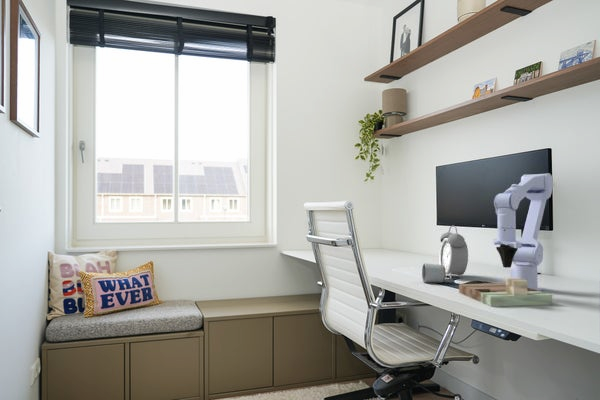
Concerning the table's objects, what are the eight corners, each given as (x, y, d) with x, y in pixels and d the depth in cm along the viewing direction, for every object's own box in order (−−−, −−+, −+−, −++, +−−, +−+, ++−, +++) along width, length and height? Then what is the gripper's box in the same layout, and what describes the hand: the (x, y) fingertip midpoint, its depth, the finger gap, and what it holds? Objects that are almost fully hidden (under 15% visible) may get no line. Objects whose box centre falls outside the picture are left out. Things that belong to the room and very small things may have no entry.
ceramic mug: (446, 284, 181) (446, 264, 181) (425, 284, 181) (425, 264, 181) (439, 280, 191) (439, 261, 192) (419, 280, 192) (419, 261, 192)
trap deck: (459, 292, 163) (459, 284, 164) (512, 291, 165) (512, 282, 165) (490, 306, 142) (490, 296, 142) (552, 304, 144) (552, 294, 144)
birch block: (505, 292, 147) (505, 278, 147) (519, 292, 148) (519, 278, 148) (513, 295, 143) (513, 280, 143) (527, 295, 143) (527, 280, 143)
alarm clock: (437, 274, 207) (437, 224, 207) (456, 273, 207) (456, 224, 207) (449, 280, 190) (449, 226, 191) (470, 279, 190) (470, 226, 191)
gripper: (485, 227, 167) (485, 264, 167) (507, 229, 152) (507, 270, 152) (503, 226, 168) (504, 264, 167) (527, 229, 153) (527, 270, 153)
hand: (507, 267), depth 160 cm, fingers closed
